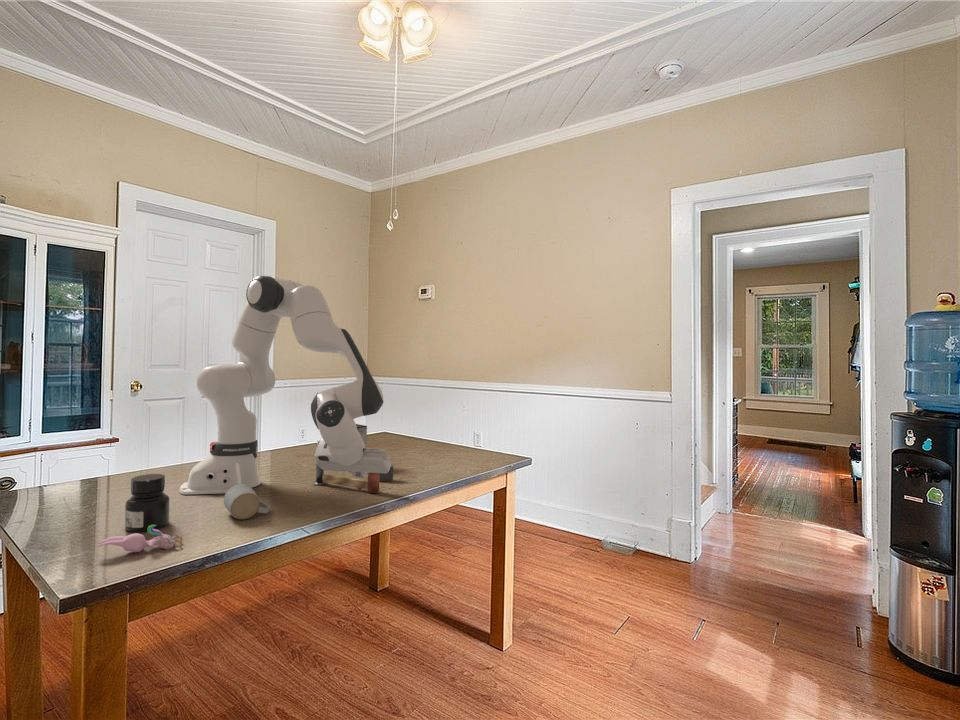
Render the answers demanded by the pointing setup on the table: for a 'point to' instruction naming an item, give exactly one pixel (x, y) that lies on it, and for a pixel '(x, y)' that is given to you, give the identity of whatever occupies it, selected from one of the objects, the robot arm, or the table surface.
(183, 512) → the table surface
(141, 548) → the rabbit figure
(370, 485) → the gate
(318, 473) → the hinge post
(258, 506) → the ceramic mug
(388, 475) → the catch block
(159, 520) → the ink bottle
